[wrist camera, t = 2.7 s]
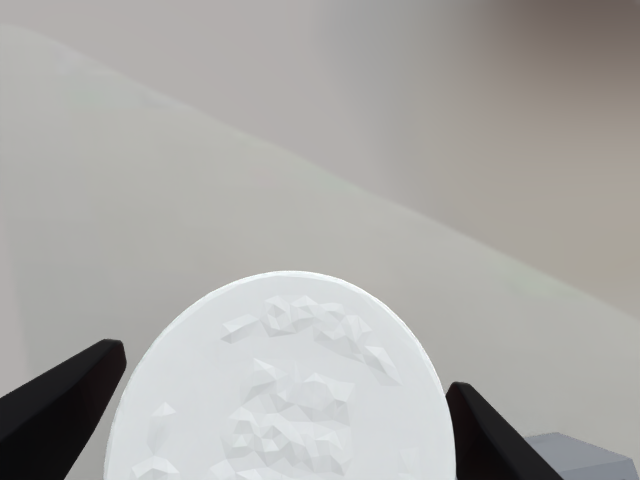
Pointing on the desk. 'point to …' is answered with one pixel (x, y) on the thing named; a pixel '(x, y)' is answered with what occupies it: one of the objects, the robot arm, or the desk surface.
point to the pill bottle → (283, 391)
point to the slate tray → (581, 459)
